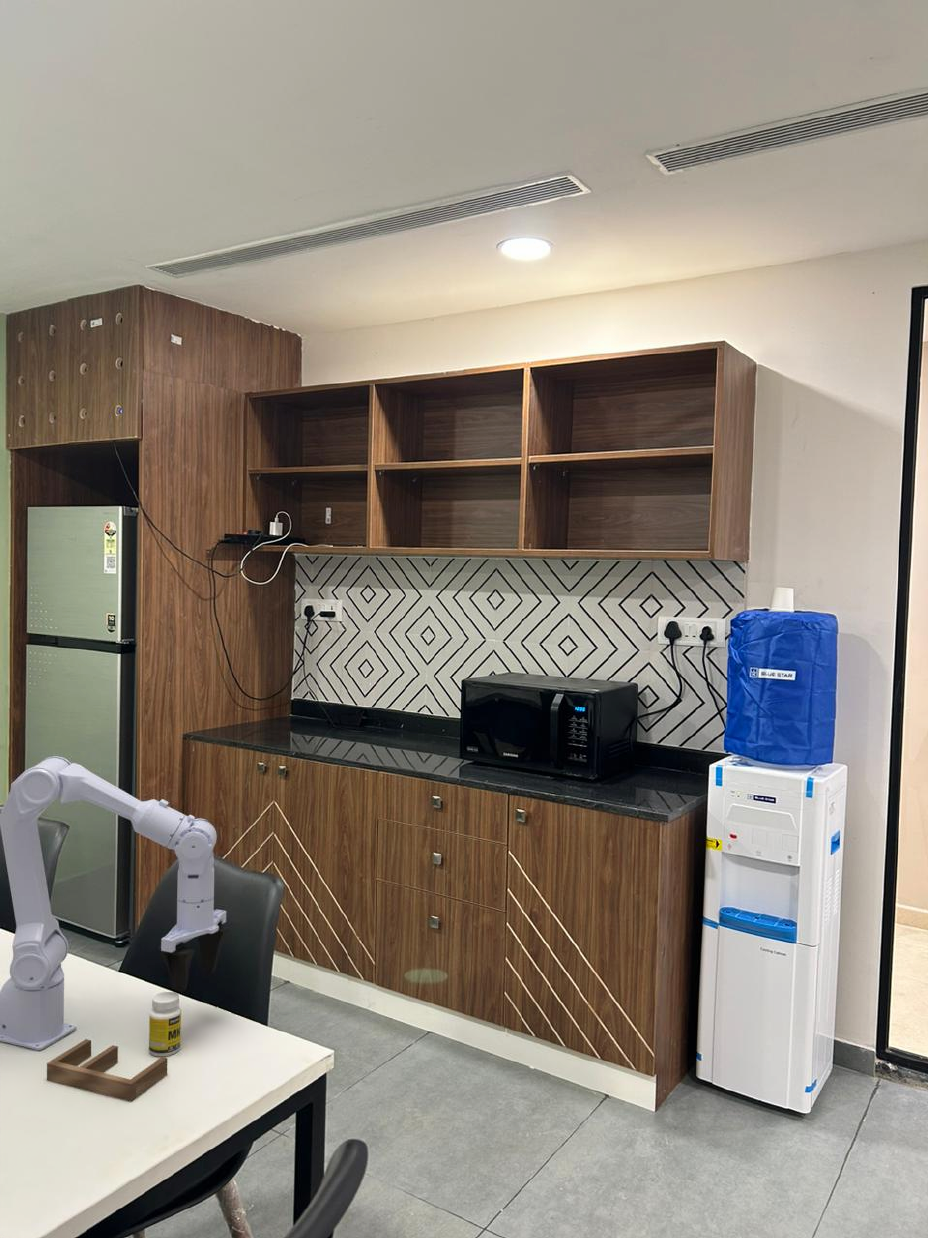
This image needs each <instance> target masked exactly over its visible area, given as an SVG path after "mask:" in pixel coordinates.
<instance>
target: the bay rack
mask: <svg viewBox="0 0 928 1238" xmlns="http://www.w3.org/2000/svg"><path fill="white" fill-rule="evenodd" d="M90 1057H92V1040H91V1039H87V1038H85V1039H84V1040H82V1041H80V1042H78V1043H77V1044H76V1045H73V1047H71V1048H69V1049H68V1050H66V1051H64V1052H63V1053H61V1054H60V1055H58V1056H56V1057H55V1058H53V1059H51V1060H50V1061H47V1063H46V1081H48V1082H52V1083H57V1084H61V1085H64V1086H69V1087H71V1088H72V1087H73V1088H77V1089H80V1090H84V1091H88V1092H92V1093H96V1094H100V1095H103V1096H108V1097H111V1098H114V1099H118V1098H119V1100H121V1101H122V1100H124V1101H127V1102H130V1103H132V1102H133V1101H134V1100H136V1099H137V1098H138V1097H140V1096H141V1095H142V1094H144V1093H145V1092H146V1091H148V1090H149V1089H150V1088H152V1087H153V1086H154V1085H156V1083H158V1082H159V1081H161V1080H162V1079H163V1078H165V1077H166V1076H168V1057H166V1056H162V1057H161V1056H160V1057H159V1058H158V1059H157V1060H155V1061H154V1062H153V1063H151V1064H150V1065H148V1066H147V1067H145V1068H144V1069H143V1070H141V1071H140V1072H138V1074H136V1075H135V1076H133V1077H131V1078H130V1079H129V1078H125V1077H123V1076H118V1075H114V1074H109V1073H106V1072H107V1071H108V1070H109V1069H111V1068H112V1067H113V1066H116V1064H118V1063H119V1061H118V1060H119V1046H117V1045H113V1044H112V1045H111V1046H109V1047H107V1048H106V1049H105V1050H103V1051H101V1052H100V1053H98V1054H97V1055H96V1056H93V1057H92V1058H91V1059H89V1058H90ZM87 1059H89V1060H88V1061H86V1060H87ZM84 1061H86V1062H85V1063H83V1062H84ZM81 1063H83V1064H82V1065H80V1064H81ZM79 1065H80V1066H79Z"/></svg>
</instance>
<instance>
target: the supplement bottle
mask: <svg viewBox="0 0 928 1238" xmlns="http://www.w3.org/2000/svg"><path fill="white" fill-rule="evenodd" d="M151 999H152V1000H151V1001H152V1003H151V1007H152V1008H151V1009H150V1012H149V1021H148V1022H149V1024H148V1025H149V1026H148V1027H149V1028H148V1030H149V1031H148V1032H149V1033H148V1052H149V1054H151V1055H152V1056H155V1057H160V1058H161V1057H168V1056H169V1057H170V1056H173V1055H174V1054H176V1053H177V1052H178V1051H179V1050H180V1049H181V1037H182V1036H181V1034H182V1032H181V1030H182V1009H181V1006H180V996H179V994H178V993H177V992H175V991H174V992H172V991H164V992H160V993H157V994H155V995H154V996H153V997H152V998H151Z"/></svg>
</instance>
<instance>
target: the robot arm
mask: <svg viewBox="0 0 928 1238" xmlns="http://www.w3.org/2000/svg"><path fill="white" fill-rule="evenodd" d="M59 797H60V803H61V804H67V803H70V802H71V803H72V802H76V801H86V802H88V803H91V804H93V805H96V806H98V807H100V808H102V809H104V810H106V811H108V812H111V813H114V814H116V815H118V816H119V817H122V818H125V819H127V820H129V821H130V823H131V824H132V827H133V831H134V832H135V833H137V834H139V835H141V836H142V837H144V838H147V839H149V840H151V841H152V842H155V843H157V844H159V845H160V846H162V847H165V848H167V849H169V850H174V854H175V856H176V857H177V859H178V870H177V889H176V890H177V891H176V892H177V893H176V894H177V895H176V897H177V898H176V924H175V925H174V926H173V927H172V929H171V930H169V932H168V933H167V934H166V935H165V936H164V937H162V938H161V941H160V942H161V943H160V945H159V946H158V954H159V955H160V957H161V958H162V960H163V961H164V964H165V966H166V969H167V971H168V975H169V978H170V982H171V985H172V990H175V991H180V992H184V991H186V990H187V987H188V984H189V974H190V973H189V972H190V967H191V962H192V959H193V956H194V953H195V952H196V950H195V949H192V948H188V947H187V945H185V944H186V943H187V942H189V941H190V940H192V939H194V938H197V940H198V946H199V955H200V958H199V960H200V966H201V971H202V972H206V973H211V974H214V973H215V970H216V969H217V965H218V960H219V957H220V953H221V950H222V947H223V945H224V943H225V940H226V939H227V937H228V935H229V934H230V927H229V926H227V925H223V924H225V923H226V922H227V910H222V909H215V908H214V904H215V900H214V899H215V866H214V863H215V859H214V858H215V857H214V851H213V850H214V847H216V846H215V845H216V843H217V838H218V835H217V831H216V828H215V827H214V825H212V823H210V821H209V822H208V820H207V819H205V818H196V817H195V816H194V815H192V814H189V815H186V814H184V813H182V812H180V811H178V810H177V809H174V808H172V807H170V806H168V805H169V804H170V802H169V801H167V800H166V799H163V798H162V799H161V800H160V801H159V800H157V799H155V798H153V799H152V798H151V799H150V800H149V799H148V800H144V801H141V800H140V799H138V798H136V797H134V796H133V795H131V794H129V793H127V791H124V790H123V789H121V788H119V787H117V786H116V785H113V784H112V783H110V781H109V782H108V781H107V780H105V779H103V778H102V777H100V776H98V775H97V774H96V773H93V772H91V771H89V770H88V769H87V768H86V767H84V766H83V765H81V764H78V763H75V762H72V763H71V761H70V760H68V759H66V758H65V757H61V756H58V755H56V756H55V755H54V756H48V757H46V758H44V759H43V760H41V761H40V762H39V763H38V764H36V765H34V766H32V767H29V768H28V769H26V770H24V771H23V773H21V774H20V775H19V776H18V777H17V778H16V779H15V780H14V781H13V782H12V783H11V784H10V791H9V794H8V796H7V798H6V800H5V802H4V803H3V807H2V809H1V812H0V834H1V839H2V845H3V851H4V858H5V863H6V864H5V865H6V868H7V869H6V871H7V875H8V882H9V888H10V893H11V898H12V899H11V901H12V907H13V912H14V913H13V914H14V919H15V925H16V928H15V933H14V938H13V940H12V945H11V946H12V954H13V955H12V956H13V957H12V960H11V963H10V966H9V975H10V978H9V979H7V980H6V981H5V983H4V984H3V985H2V986H1V989H0V1042H3V1043H7V1044H12V1045H16V1046H20V1047H24V1048H29V1049H32V1050H36V1051H42V1050H43V1049H45V1048H47V1047H48V1046H50V1045H52V1044H53V1043H55V1042H57V1041H58V1040H60V1039H62V1038H63V1037H65V1036H67V1035H68V1034H71V1033H72V1032H74V1031H75V1030H77V1026H76V1025H75V1024H69V1023H65V1020H64V1018H65V973H64V971H63V968H62V962H63V961H64V960H65V959H66V958H67V956H68V952H69V942H68V940H67V938H66V937H65V935H64V934H63V933H62V931H61V930H60V925H59V920H58V919H57V918H56V917H55V916H53V914H52V910H51V909H52V908H51V902H50V896H49V895H50V894H49V887H48V883H47V877H46V876H47V875H46V870H45V863H44V858H43V851H42V846H41V845H42V844H41V839H40V832H39V828H38V819H39V818H40V817H41V815H42V814H43V813H44V812H45V811H46V809H47V808H48V807H49V806H50V805H51V804H52V803H54V802H55V801H56V800H57V799H58V798H59ZM214 909H215V910H214Z"/></svg>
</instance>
